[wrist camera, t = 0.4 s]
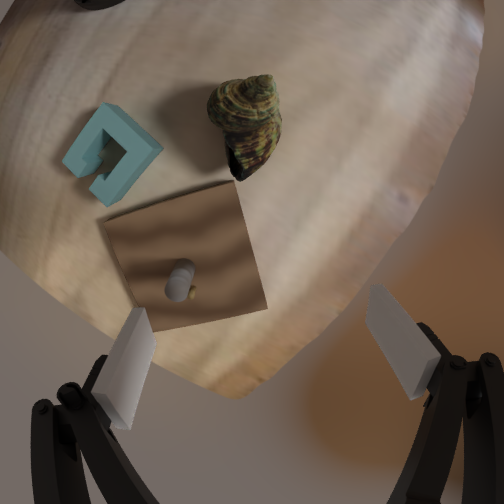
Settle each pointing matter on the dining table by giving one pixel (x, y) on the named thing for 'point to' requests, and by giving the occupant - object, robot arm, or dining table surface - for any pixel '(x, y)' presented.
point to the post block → (189, 258)
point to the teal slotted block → (93, 141)
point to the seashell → (247, 121)
